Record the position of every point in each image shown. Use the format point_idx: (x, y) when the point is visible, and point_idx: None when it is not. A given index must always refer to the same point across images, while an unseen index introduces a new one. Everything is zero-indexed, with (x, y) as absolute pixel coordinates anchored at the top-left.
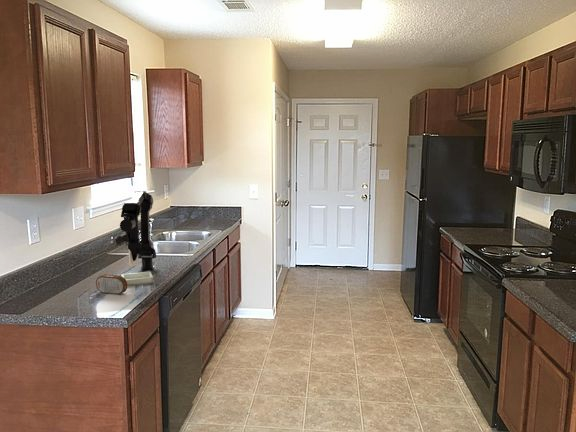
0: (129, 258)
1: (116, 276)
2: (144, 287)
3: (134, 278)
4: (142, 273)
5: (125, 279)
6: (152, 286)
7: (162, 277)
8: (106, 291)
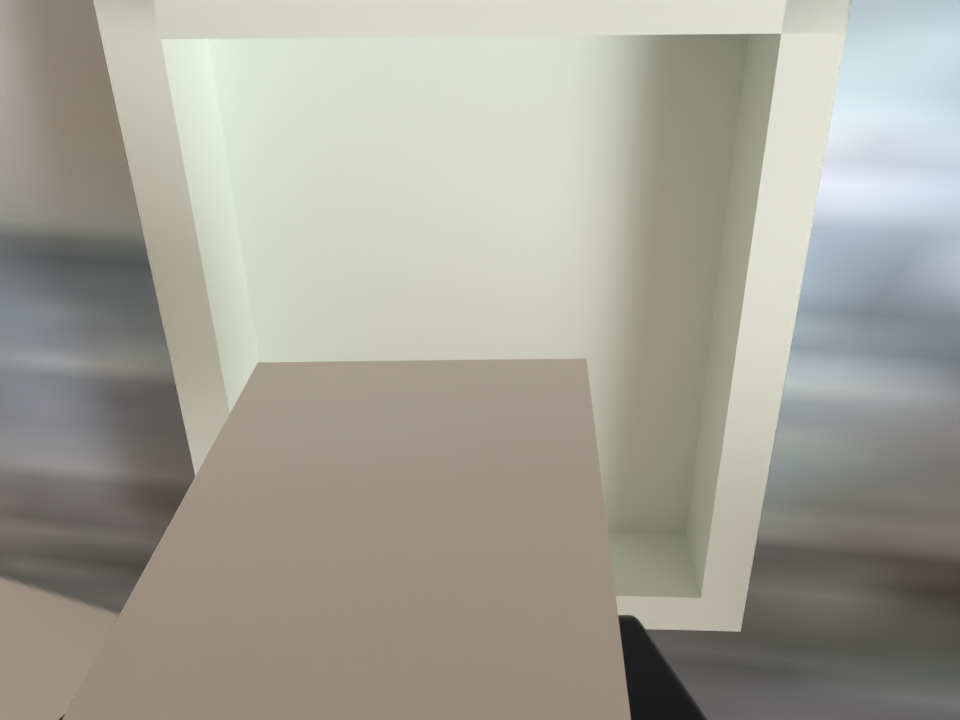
0: (263, 567)
1: None
2: (34, 386)
3: (654, 271)
4: (713, 479)
5: (657, 59)
6: (82, 505)
7: None
8: None
